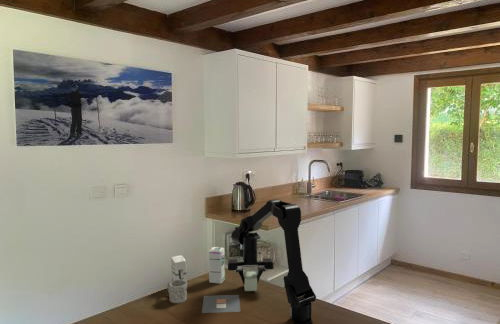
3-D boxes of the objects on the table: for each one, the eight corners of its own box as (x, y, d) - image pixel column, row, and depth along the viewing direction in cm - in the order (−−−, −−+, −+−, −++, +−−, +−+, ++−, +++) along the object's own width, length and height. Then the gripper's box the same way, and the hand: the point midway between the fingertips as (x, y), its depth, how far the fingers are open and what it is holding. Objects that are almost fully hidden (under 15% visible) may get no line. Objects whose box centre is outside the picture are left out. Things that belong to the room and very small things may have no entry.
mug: (190, 299, 143) (190, 283, 142) (176, 305, 138) (175, 288, 137) (175, 291, 149) (175, 276, 149) (161, 297, 145) (161, 280, 144)
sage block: (255, 282, 156) (255, 271, 155) (257, 290, 148) (257, 278, 147) (243, 283, 155) (243, 271, 155) (244, 291, 147) (244, 279, 147)
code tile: (238, 295, 146) (238, 294, 146) (240, 312, 132) (240, 311, 132) (203, 296, 145) (203, 295, 145) (201, 313, 131) (201, 312, 131)
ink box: (171, 282, 158) (170, 256, 157) (182, 281, 160) (182, 254, 160) (175, 290, 150) (175, 262, 150) (187, 288, 153) (187, 260, 152)
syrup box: (221, 283, 157) (221, 251, 156) (208, 282, 158) (208, 250, 157) (225, 278, 163) (225, 247, 162) (212, 277, 164) (212, 246, 163)
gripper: (270, 241, 159) (270, 276, 160) (227, 242, 158) (227, 277, 159) (273, 249, 148) (273, 286, 149) (227, 250, 147) (228, 288, 148)
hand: (250, 284), depth 151 cm, fingers closed on sage block, 5 cm apart
